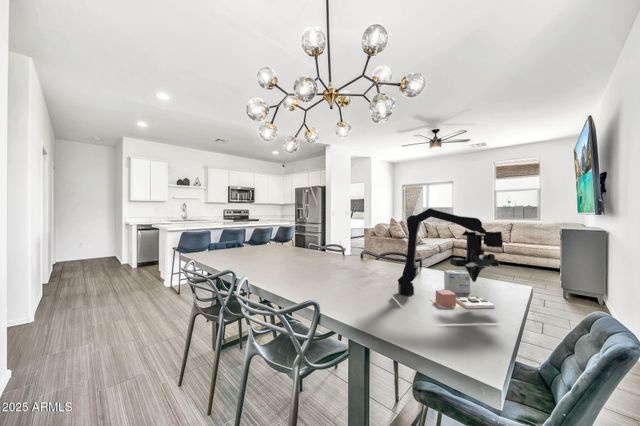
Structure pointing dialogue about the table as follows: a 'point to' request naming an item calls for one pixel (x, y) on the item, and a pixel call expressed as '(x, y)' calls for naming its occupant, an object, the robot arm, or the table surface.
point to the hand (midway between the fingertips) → (473, 281)
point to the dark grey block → (473, 300)
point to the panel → (469, 304)
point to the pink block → (446, 298)
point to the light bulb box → (457, 281)
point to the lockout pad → (446, 306)
